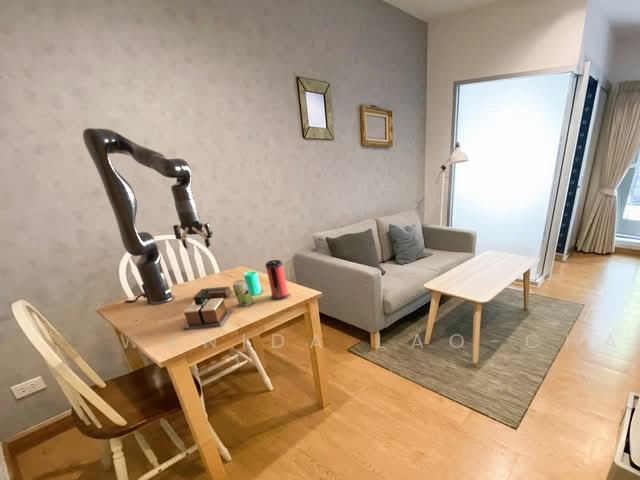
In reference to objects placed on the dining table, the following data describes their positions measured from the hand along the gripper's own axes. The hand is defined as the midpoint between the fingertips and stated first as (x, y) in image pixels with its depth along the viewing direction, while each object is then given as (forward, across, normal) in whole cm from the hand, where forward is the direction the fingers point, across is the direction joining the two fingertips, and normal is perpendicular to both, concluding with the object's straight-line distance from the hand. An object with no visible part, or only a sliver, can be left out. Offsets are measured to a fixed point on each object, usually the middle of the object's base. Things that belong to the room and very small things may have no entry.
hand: (197, 247), depth 145 cm
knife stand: (+28, +2, -10) cm, 30 cm away
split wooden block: (+28, -3, +16) cm, 32 cm away
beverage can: (+28, -15, +3) cm, 32 cm away
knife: (+27, -4, +16) cm, 32 cm away
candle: (+28, -16, -11) cm, 34 cm away
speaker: (+28, -30, -3) cm, 41 cm away
